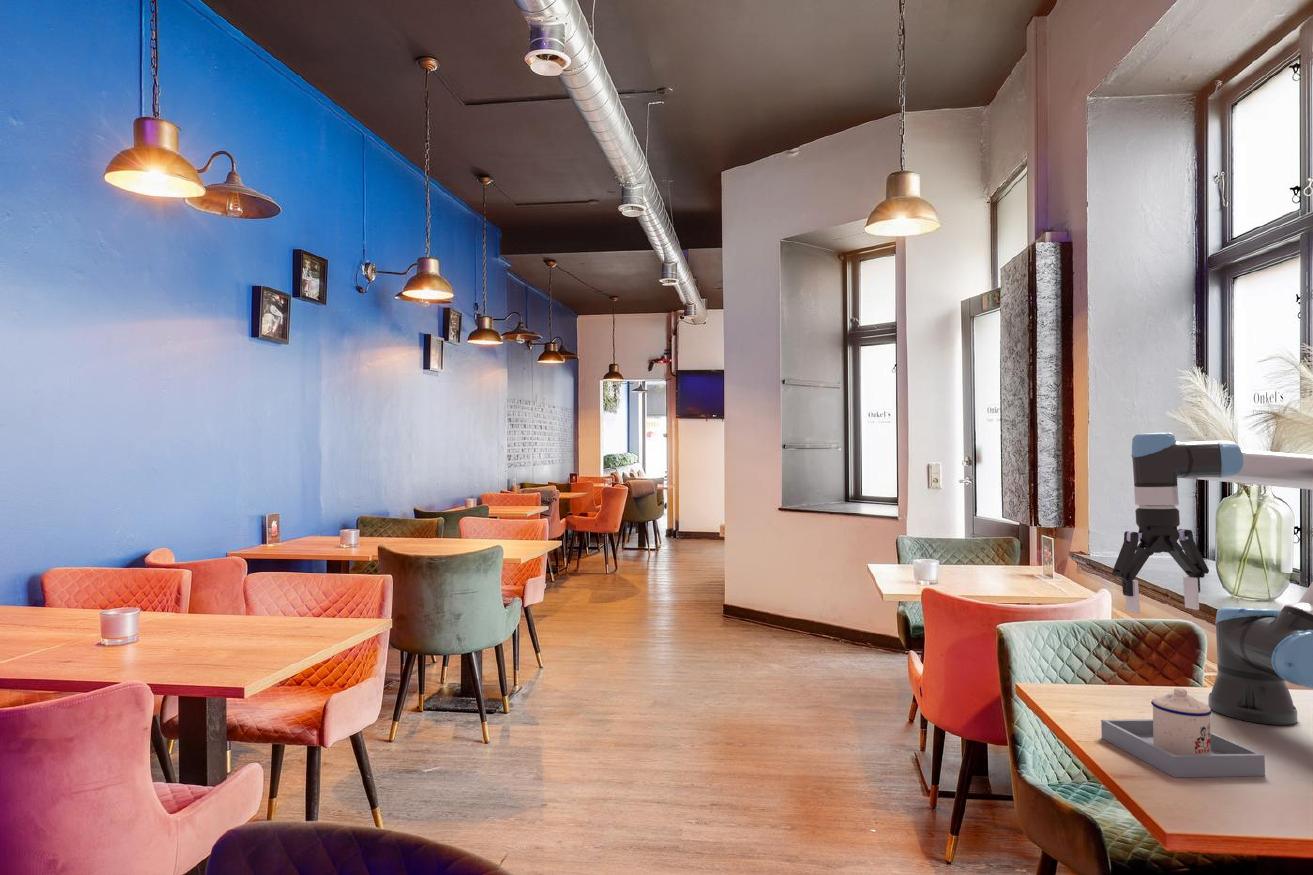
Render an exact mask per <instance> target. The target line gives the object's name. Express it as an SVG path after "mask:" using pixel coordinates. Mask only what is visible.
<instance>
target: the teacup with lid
mask: <svg viewBox="0 0 1313 875" xmlns="http://www.w3.org/2000/svg"><path fill="white" fill-rule="evenodd" d="M1150 703H1151V705H1152V719H1153V744H1154V745H1156V746H1158V747H1160V748H1162V749H1164V750H1166V751H1168V752H1170V753H1172V754H1174V755H1203V754H1211V735H1210V732H1211V715H1212V713H1213V712H1212V711H1213V710H1212V709H1210V707H1209V706H1208V704H1207V703H1205V702H1203V701H1199V700H1198V699H1196V698H1195V697H1194V696H1191V695H1189V694H1188V691H1187V690H1186V689H1184V688H1180V687H1176V688H1174V689H1173V692H1169V693H1166V694H1164V695H1157V696H1153V698H1152V699H1151V702H1150Z"/></svg>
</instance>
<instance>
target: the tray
mask: <svg viewBox="0 0 1313 875" xmlns="http://www.w3.org/2000/svg"><path fill="white" fill-rule="evenodd" d="M1100 722H1101V725H1100V727H1101V739H1102V740H1105V741H1106V742H1109V743H1110V744H1112V745H1114V746H1116V747H1117V748H1120V749H1122V750H1123V751H1125V752H1127V753H1129V754H1130V755H1132V756H1133V757H1135V758H1138V759H1140V760H1141V761H1143V762H1145V763H1147V764H1149V765H1151V766H1153V767H1154V768H1156V769H1158V770H1160V771H1162V772H1164V773H1165V774H1168V775H1169V776H1171V777H1172V778H1210V777H1211V778H1212V777H1213V778H1215V777H1217V778H1219V777H1223V778H1225V777H1266V759H1265V756H1266V755H1265V754H1262V753H1261V752H1258V751H1256V750H1253V749H1251V748H1249V747H1246V746H1244V745H1242V744H1240V743H1237V742H1235V741H1233V740H1232V739H1229V738H1225V737H1223V736H1221V735H1219V734H1217V733H1215V732H1212V731H1210V735H1211V754H1203V755H1174V754H1172V753H1170V752H1168V751H1166V750H1164V749H1162V748H1160V747H1158V746H1156V745H1154V744H1153V718H1149V719H1148V718H1146V719H1144V718H1137V719H1101V720H1100Z"/></svg>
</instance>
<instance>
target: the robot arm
mask: <svg viewBox="0 0 1313 875" xmlns="http://www.w3.org/2000/svg"><path fill="white" fill-rule="evenodd" d="M1131 440H1132V441H1131V459H1132V471H1133V486H1134V487H1133V489H1134V490H1133V492H1134V503H1135V504H1134V505H1136V506H1137V507H1138V508H1136V509H1135V524H1136V526H1138V532H1137V531H1131V530H1129V531H1128V530H1127V531H1124V534H1123V543H1122V545H1121V549H1120V551H1119V554H1118V557H1117V558H1116V562H1115V564H1114V567H1113V569H1112V572H1111V575H1112V576H1113V577H1115V578H1117V579H1118V580H1119V579H1120V580H1121V585H1122V586H1121V587H1122V595H1123V596H1125V611H1126V612H1130V613H1134V614H1141V611H1140V610H1141V609H1140V591H1139V580H1135V579H1136V577H1137V575H1138V574H1139V572H1140V571H1141V570H1142V568H1143V566H1144V565H1145V563H1146V562H1147V560H1148V559H1149V558H1150V557H1151V556H1152V555H1154V554H1160V553H1168V554H1169V555H1170V556H1171V558H1173V560H1174V561H1175V562H1176V563H1177V565H1178V566H1179V567H1180V568H1181V569H1182V570H1183V571H1184V573H1185V574H1186V575H1184V576H1182V579H1183V583H1182V584H1183V596H1184V608H1185V609H1191V610H1194V611H1195V610H1196V611H1199V610H1200V599H1199V598H1200V597H1199V593H1200V592H1201V579H1200V578H1202V579H1204V578H1205V576H1206V575H1207V574H1209V572H1210V569H1209V567H1208V566H1207V563H1206V561H1205V559H1204V557H1203V555H1202V554H1201V551H1200V549H1199V547H1198V546H1197V544H1196V542H1195V539H1194V534H1193V531H1192V529H1185V528H1178V527H1180V525H1181V522H1180V520H1181V518H1180V509H1178V508H1177V506H1179V504H1180V503H1179V500H1180V499H1179V489H1178V486H1179V484H1178V479H1191V480H1192V479H1193V480H1201V481H1202V480H1205V481H1214V482H1225V483H1234V484H1236V483H1237V484H1246V485H1256V486H1268V487H1269V486H1270V487H1277V488H1289V489H1290V488H1291V489H1299V490H1300V489H1301V490H1310V491H1312V492H1313V454H1312V455H1311V454H1302V453H1286V452H1277V451H1266V450H1265V451H1264V450H1253V449H1242V448H1241V447H1240V446H1239V445H1238V444H1237V443H1236V442H1234V441H1231V440H1219V439H1218V440H1217V439H1216V440H1204V441H1203V440H1202V441H1197V440H1196V441H1177V439H1176V436H1175V435H1174V433H1172V432H1153V433H1152V432H1150V433H1148V432H1147V433H1138V434H1135V435H1134V436H1133V437H1132V439H1131ZM1179 543H1180V544H1179ZM1215 629H1216V630H1215V633H1216V636H1215V637H1216V660H1217V661H1216V663H1217V664H1216V665H1217V671H1216V672H1217V673H1216V676H1215V679H1214V683H1213V685H1212V688H1211V692H1210V693H1209V695H1208V698H1207V699H1208V701H1207V702H1208V704H1207V705H1208V706H1209V707H1210V709H1211V711H1214V712H1216V713H1217V714H1220V715H1223V716H1225V717H1228V718H1229V717H1230V718H1233V719H1237V720H1241V721H1247V722H1251V723H1257V724H1265V725H1278V726H1282V725H1283V726H1285V725H1287V726H1288V725H1293V724H1296V723H1297V722H1298V709H1297V707H1296V706H1295V705H1294V702H1293V699H1292V696H1291V692H1290V690H1289V688H1288V686H1287V683H1289V684H1291V685H1295V686H1299V687H1300V686H1301V687H1304V688H1307V689H1311V690H1312V689H1313V581H1312V582H1311V583H1310V585H1309V587H1308V588H1307V589H1306V591H1305V592H1304V593H1303V595H1302V596H1301V598H1300V599H1299V601H1298V602H1295V603H1291V604H1290V603H1289V604H1285V605H1284V606H1283V607H1282V608H1281V609H1275V608H1261V607H1243V606H1241V607H1240V606H1238V607H1237V606H1223V607H1220V608H1219V609H1217V611H1216V615H1215ZM1286 682H1287V683H1286Z"/></svg>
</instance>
